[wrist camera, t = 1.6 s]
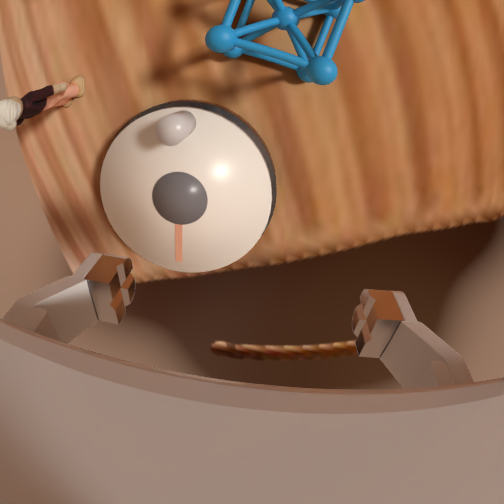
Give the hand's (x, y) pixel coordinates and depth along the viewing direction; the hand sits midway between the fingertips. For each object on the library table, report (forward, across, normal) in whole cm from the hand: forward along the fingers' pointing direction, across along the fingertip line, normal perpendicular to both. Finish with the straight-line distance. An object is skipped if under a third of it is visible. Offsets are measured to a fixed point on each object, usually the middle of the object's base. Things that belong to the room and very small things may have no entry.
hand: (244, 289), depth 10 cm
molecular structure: (+24, 0, -13) cm, 27 cm away
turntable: (+22, +8, +6) cm, 24 cm away
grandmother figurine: (+24, +24, -6) cm, 34 cm away
